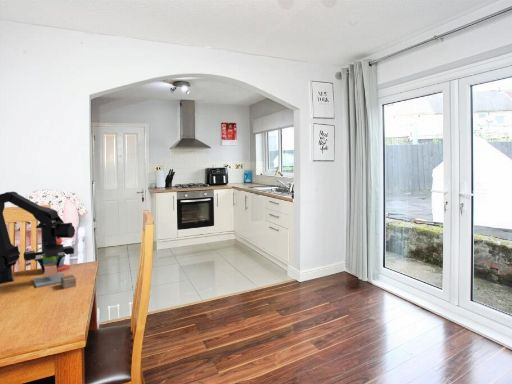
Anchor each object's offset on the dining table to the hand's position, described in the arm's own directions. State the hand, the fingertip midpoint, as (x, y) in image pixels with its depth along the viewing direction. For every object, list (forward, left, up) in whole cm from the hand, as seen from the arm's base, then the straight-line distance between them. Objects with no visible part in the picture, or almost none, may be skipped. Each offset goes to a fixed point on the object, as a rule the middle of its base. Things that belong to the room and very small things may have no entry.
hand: (50, 271), depth 144 cm
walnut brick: (+12, +5, -5) cm, 14 cm away
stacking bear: (-16, +4, -5) cm, 17 cm away
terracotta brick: (0, 0, -1) cm, 1 cm away
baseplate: (0, 0, -4) cm, 5 cm away
